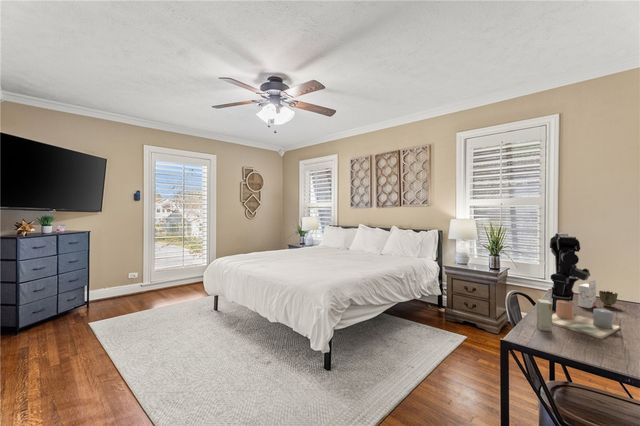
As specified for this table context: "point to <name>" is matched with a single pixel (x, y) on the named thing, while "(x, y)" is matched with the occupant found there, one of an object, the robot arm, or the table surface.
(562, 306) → the peach domed cylinder
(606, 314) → the grey rounded piece
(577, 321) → the birch board
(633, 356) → the table surface
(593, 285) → the ink cartridge box
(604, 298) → the cup
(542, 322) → the skincare box
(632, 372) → the table surface
